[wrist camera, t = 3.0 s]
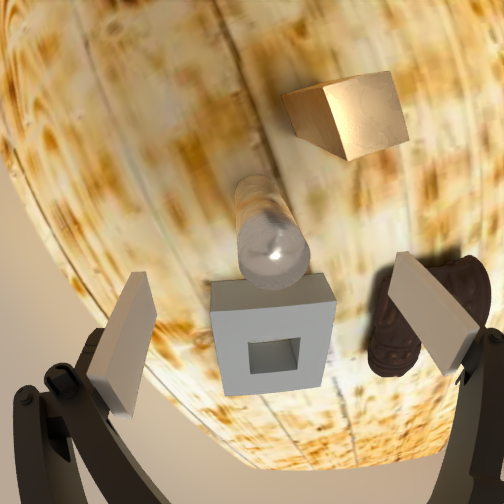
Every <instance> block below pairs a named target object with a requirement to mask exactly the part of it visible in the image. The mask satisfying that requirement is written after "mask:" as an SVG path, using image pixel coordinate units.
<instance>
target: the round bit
mask: <svg viewBox="0 0 504 504" xmlns="http://www.w3.org/2000/svg"><path fill="white" fill-rule="evenodd" d="M235 214H236V230H237V245H238V260H239V268H240V271H241V273H242V275H243V276H244V278H245V279H246V280H247V281H248V282H249V283H250V284H252V285H254V286H255V287H258V288H261V289H265V290H279V289H283V288H286V287H289V286H291V285H292V284H294V283H296V282H297V281H298V280H299V279H300V278H301V277H302V276H303V275H304V274H305V272H306V270H307V268H308V266H309V263H310V249H309V246H308V244H307V242H306V240H305V238H304V236H303V234H302V233H301V231H300V229H299V227H298V225H297V223H296V222H295V220H294V218H293V216H292V214H291V212H290V211H289V209H288V207H287V205H286V203H285V202H284V200H283V198H282V196H281V195H280V193H279V191H278V189H277V188H276V186H275V184H274V183H273V182H272V181H271V180H270V179H269V178H267V177H265V176H262V175H251V176H248V177H246V178H244V179H243V180H242V181H241V182H240V183H239V184H238V185H237V187H236V190H235Z"/></svg>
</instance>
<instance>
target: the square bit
mask: <svg viewBox="0 0 504 504" xmlns="http://www.w3.org/2000/svg"><path fill="white" fill-rule="evenodd" d="M281 98H282V100H283V103H284V105H285V108H286V110H287V112H288V115H289V118H290V120H291V123H292V125H293V128H294V130H295V133H296V136H297V137H299V138H301V139H303V140H306V141H308V142H310V143H312V144H314V145H316V146H318V147H320V148H322V149H324V150H327V151H329V152H331V153H333V154H335V155H337V156H339V157H341V158H342V159H344V160H346V161H350V160H353V159H356V158H359V157H362V156H364V155H367V154H370V153H373V152H376V151H379V150H382V149H385V148H388V147H391V146H394V145H397V144H400V143H403V142H406V141H409V136H408V132H407V128H406V124H405V120H404V116H403V112H402V108H401V105H400V101H399V98H398V95H397V91H396V88H395V85H394V82H393V79H392V76H391V73H390V71H383V72H376V73H370V74H364V75H358V76H352V77H347V78H342V79H337V80H332V81H327V82H323V83H319V84H316V85H312V86H309V87H306V88H303V89H299V90H296V91H293V92H290V93H287V94H284V95H281Z"/></svg>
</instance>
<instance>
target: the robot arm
mask: <svg viewBox="0 0 504 504" xmlns="http://www.w3.org/2000/svg"><path fill="white" fill-rule="evenodd" d="M388 295H389V297H390V298H391V299H392V301H393V302H394V303H395V305H396V306H397V308H398V309H399V310H400V312H401V313H402V315H403V316H404V317H405V319H406V320H407V322H408V323H409V324H410V326H411V327H412V329H413V330H414V332H415V333H416V335H417V336H418V338H419V339H420V341H421V342H422V344H423V345H424V347H425V348H426V350H427V351H428V353H429V354H430V356H431V357H432V359H433V360H434V362H435V363H436V365H437V367H438V368H439V370H440V371H441V373H442V375H443V376H444V377H445V376H448V375H450V374H453V373H455V372H456V371H457V369H458V368H459V366H460V364H462V365H463V366H464V369H463V371H462V372H461V374H460V376H459V377H458V379H457V380H456V382H455V385H457V383H458V382H459V381H460V385H459V386H460V387H459V394H458V400H457V406H456V411H455V416H454V421H453V425H452V430H451V434H450V438H449V442H448V446H447V449H446V453H445V456H444V460H443V463H442V467H441V470H440V473H439V476H438V479H437V482H436V484H435V487H434V490H433V493H432V495H431V498H430V499H429V501H428V502H427V504H504V481H501V479H500V474H501V469H502V463H503V457H504V334H503V333H502V332H501V331H499V330H497V329H495V328H486V327H485V326H484V325H483V324H482V322H481V321H480V320H479V319H478V318H477V317H476V316H475V314H474V313H473V312H472V311H471V310H470V309H469V308H468V307H467V306H466V304H465V303H464V302H463V301H462V300H461V299H460V298H458V297H457V296H455V295H454V294H450V293H449V292H448V291H447V290H446V289H445V288H444V287H443V286H442V285H441V284H440V282H439V281H438V280H437V279H436V278H435V277H434V276H433V275H432V274H431V273H430V272H429V271H428V270H427V269H426V268H425V267H424V266H423V265H422V264H421V263H420V262H419V261H418V260H416V259H415V258H414V257H413V256H412V255H411V254H410V253H409V252H408V251H407V252H397V255H396V260H395V265H394V269H393V274H392V278H391V282H390V287H389V291H388ZM156 317H157V312H156V309H155V305H154V302H153V298H152V294H151V291H150V287H149V283H148V279H147V275H146V271H144V272H132V273H131V275H130V277H129V279H128V281H127V283H126V285H125V287H124V289H123V291H122V293H121V295H120V297H119V299H118V301H117V303H116V305H115V308H114V310H113V312H112V314H111V316H110V319H109V321H108V323H107V325H106V328H96V329H95V330H94V331H93V332H92V333H91V334H90V335H89V337H88V339H87V341H86V343H85V346H84V348H83V350H82V353H81V354H80V356H79V359H78V361H77V363H76V366H75V368H73V367H72V366H71V365H70V364H68V363H58V364H55V365H53V366H52V367H51V368H49V369H48V371H47V372H46V374H45V376H44V384H45V385H46V386H47V388H48V389H49V390H50V391H49V392H43V393H39V391H38V390H37V389H36V388H35V387H34V386H32V385H26V386H24V387H21V388H20V389H19V390H18V391H17V392H16V394H15V396H14V401H13V435H14V453H15V464H16V474H17V481H18V488H19V494H20V499H21V504H88V502H87V499H86V496H85V493H84V489H83V486H82V482H81V478H80V475H79V471H78V467H77V463H76V458H75V454H74V449H73V444H72V439H73V441H74V444H75V446H76V448H77V449H78V452H79V454H80V455H81V458H82V459H83V461H84V463H85V465H86V467H87V469H88V471H89V472H90V474H91V476H92V478H93V479H94V481H95V483H96V484H97V486H98V488H99V490H100V491H101V493H102V494H103V496H104V497H105V499H106V501H107V502H108V504H171V503H170V502H169V501H168V499H167V498H166V497H165V496H164V495H163V494H162V493H161V491H160V490H159V489H158V488H157V487H156V485H155V484H154V483H153V482H152V480H151V479H150V478H149V476H148V475H147V474H146V473H145V471H144V470H143V469H142V468H141V466H140V465H139V463H138V462H137V461H136V459H135V458H134V456H133V455H132V454H131V452H130V451H129V449H128V448H127V446H126V445H125V443H124V442H123V441H122V439H121V437H120V436H119V434H118V433H117V431H116V430H115V428H114V427H113V425H112V423H111V422H110V420H109V419H108V414H109V411H111V412H112V414H113V415H114V416H115V417H117V418H128V419H132V418H133V413H134V408H135V403H136V399H137V394H138V389H139V385H140V381H141V376H142V372H143V368H144V364H145V359H146V355H147V351H148V347H149V344H150V340H151V336H152V332H153V328H154V325H155V321H156ZM71 437H72V439H71Z"/></svg>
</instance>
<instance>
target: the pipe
mask: <svg viewBox="0 0 504 504" xmlns="http://www.w3.org/2000/svg"><path fill="white" fill-rule="evenodd" d="M426 269H427V270H428V271H429V272H430V273H431V274H432V275H433V276H434V277H435V278H436V279H437V280H438V281H439V282H440V284H441V285H442V286H443V287H444V288H445V289H446V290H447V291H448V292H449V293H450V294H454V295H455V296H457V297H458V298H460V299H461V300H462V301H463V302H464V303H465V304H466V306H467V307H468V308H469V309H470V310H471V311H472V312H473V313H474V314H475V316H476V317H477V318H478V319H479V320H480V321H481V322H482V324H483V325H484V326H485V324H486V322H487V319H488V315H489V311H490V306H491V285H490V280H489V276H488V273H487V271H486V269H485V268H484V266H483V264H482V263H481V262H480V261H479V260H478V259H477V258H476V257H474V256H471V255H467V256H465V257H464V258H460V259H459V260H457V261H456V262H454V261H448V262H446V263H445V265H444V266H439V267H432V268H426ZM391 278H392V275H390V276H389V277H388V278H386V279H385V280H384V281H383V282H382V283H381V287H380V292H379V297H378V302H377V307H376V311H375V314H374V318H373V319H374V324H375V326H376V328H375V330H374V331H373V332H372V334H371V341H370V343H369V347H368V364H369V366H370V368H371V370H372V371H373V372H374V373H376V374H377V375H379V376H381V377H395V376H396V377H401V376H403V375H404V374H405V373H406V372H407V371H409V370H410V369H411V368H412V367H413V366H414V364H415V363H416V361H417V360H418V356H419V354H420V350H421V343H422V342H421V341H420V339H419V338H418V336H417V335H416V333H415V332H414V330H413V329H412V327H411V326H410V324H409V323H408V322H407V320H406V319H405V317H404V316H403V315H402V313H401V312H400V310H399V309H398V308H397V306H396V305H395V303H394V302H393V301H392V299H391V298H390V297H389V295H388V291H389V287H390V282H391Z"/></svg>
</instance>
